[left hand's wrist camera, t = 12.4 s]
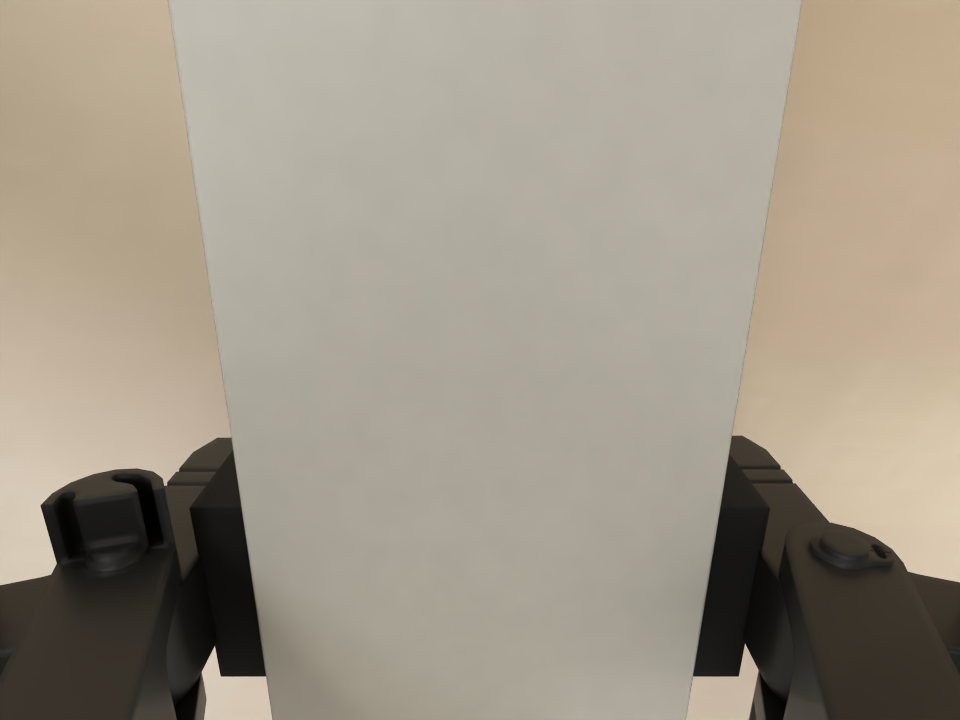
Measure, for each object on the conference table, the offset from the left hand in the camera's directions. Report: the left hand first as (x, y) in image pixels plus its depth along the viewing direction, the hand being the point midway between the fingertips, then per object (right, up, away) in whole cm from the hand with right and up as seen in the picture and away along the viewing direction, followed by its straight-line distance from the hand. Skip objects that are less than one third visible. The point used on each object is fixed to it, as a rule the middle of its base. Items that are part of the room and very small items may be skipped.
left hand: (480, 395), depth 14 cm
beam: (0, +28, -10) cm, 29 cm away
